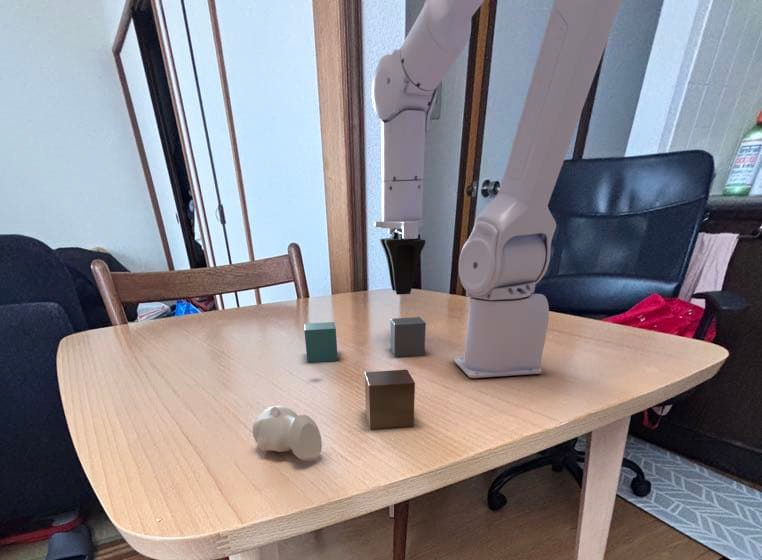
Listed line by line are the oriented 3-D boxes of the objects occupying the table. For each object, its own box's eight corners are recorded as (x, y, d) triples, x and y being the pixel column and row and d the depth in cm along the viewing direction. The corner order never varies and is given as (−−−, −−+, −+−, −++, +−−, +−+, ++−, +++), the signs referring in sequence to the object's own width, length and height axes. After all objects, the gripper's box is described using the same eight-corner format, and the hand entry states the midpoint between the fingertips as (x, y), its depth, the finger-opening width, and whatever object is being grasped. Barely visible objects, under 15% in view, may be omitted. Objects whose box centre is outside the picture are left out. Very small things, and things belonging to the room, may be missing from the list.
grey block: (418, 348, 73) (419, 316, 71) (424, 355, 70) (425, 322, 67) (390, 349, 73) (390, 318, 70) (394, 357, 69) (394, 324, 67)
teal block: (336, 353, 73) (334, 321, 70) (337, 360, 69) (335, 328, 66) (307, 354, 72) (304, 323, 70) (307, 362, 69) (304, 330, 66)
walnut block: (406, 410, 52) (407, 369, 49) (413, 426, 48) (415, 382, 45) (365, 413, 51) (364, 372, 49) (370, 429, 48) (369, 385, 45)
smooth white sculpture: (254, 454, 47) (295, 427, 48) (290, 483, 41) (335, 452, 42) (233, 417, 44) (277, 389, 45) (269, 443, 38) (318, 411, 39)
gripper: (368, 184, 70) (370, 286, 78) (380, 180, 58) (381, 301, 66) (414, 182, 70) (412, 284, 78) (436, 178, 59) (430, 298, 67)
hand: (401, 292), depth 72 cm, fingers open, 3 cm apart
